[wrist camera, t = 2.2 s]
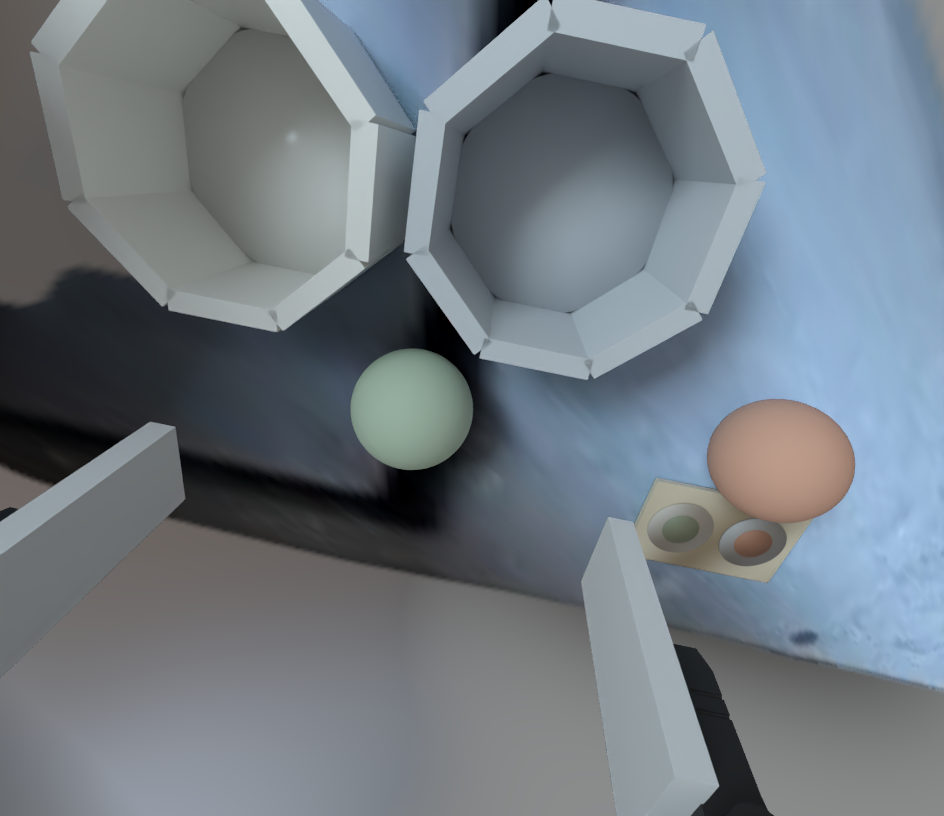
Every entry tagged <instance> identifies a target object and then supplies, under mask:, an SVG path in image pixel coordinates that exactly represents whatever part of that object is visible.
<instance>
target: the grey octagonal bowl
mask: <svg viewBox="0 0 944 816" xmlns="http://www.w3.org/2000/svg"><path fill="white" fill-rule="evenodd" d="M705 27H706V24H703V23H698V22H694V21H689V20H684V19H680V18H675V17H670V16H666V15H661V14H657V13H652V12H647V11H643V10H638V9H633V8H629V7H624V6H619V5H615V4H610V3H605V2H601V1H596V0H553V2H552V6H551V5H550V3H549V1H548V0H539V1H537V2H536V3H535V4H534V5H533V6H532V7H531V8H529V9H528V10H527V11H526V12H525V13H524V14H523V15H521V16H520V17H519V18H518V19H517V20H516V21H515V22H513V23H512V24H511V25H510V26H509V27H508V28H507V29H505V30H504V31H503V32H502V33H501V34H500V35H498V36H497V37H496V38H495V39H494V40H493V41H492V42H490V43H489V44H488V45H487V46H486V47H485V48H484V49H482V50H481V51H480V52H479V53H478V54H477V55H476V56H474V57H473V58H472V59H471V60H470V61H469V62H468V63H466V64H465V65H464V66H463V67H462V68H461V69H460V70H458V71H457V72H456V73H455V74H454V75H453V76H452V77H450V78H449V79H448V80H447V81H446V82H445V83H444V84H442V85H441V86H440V87H439V88H438V89H437V90H435V91H434V92H433V93H432V94H431V95H430V96H429V97H427V98H426V99H425V100H424V103H425V105H426V106H427V108H428V110H429V111H430V112H429V111H424V110H419V116H418V125H417V134H416V143H415V153H414V162H413V171H412V180H411V190H410V199H409V208H408V217H407V227H406V236H405V245H404V252H407V253H412V254H411V255H410V256H409V257H408V258H407V259H406V260H407V262H408V263H409V264H410V266H411V267H412V269H413V270H414V271H415V273H416V274H417V276H418V277H419V278H420V280H421V281H422V283H423V284H424V285H425V287H426V288H427V290H428V291H429V292H430V294H431V295H432V297H433V298H434V299H435V301H436V302H437V304H438V305H439V306H440V308H441V309H442V311H443V312H444V313H445V315H446V316H447V318H448V319H449V321H450V322H451V323H452V325H453V326H454V328H455V329H456V330H457V332H458V333H459V335H460V336H461V337H462V339H463V340H464V342H465V343H466V344H467V346H468V347H469V349H470V350H471V351H472V353H473V354H476V353H478V352H479V351H481V352H480V358H481V359H485V360H490V361H495V362H500V363H505V364H510V365H515V366H520V367H525V368H530V369H535V370H540V371H545V372H550V373H555V374H560V375H565V376H570V377H574V378H579V379H584V380H588V377H589V374H590V373H591V375H592V376H593V378H594V379H595V378H597V377H599V376H601V375H603V374H604V373H606V372H608V371H610V370H612V369H614V368H615V367H617V366H619V365H621V364H623V363H625V362H626V361H628V360H630V359H632V358H634V357H636V356H637V355H639V354H641V353H643V352H645V351H647V350H649V349H650V348H652V347H654V346H656V345H658V344H660V343H661V342H663V341H665V340H667V339H669V338H671V337H672V336H674V335H676V334H678V333H680V332H682V331H683V330H685V329H687V328H689V327H691V326H693V325H695V324H696V323H698V322H700V321H702V318H701V316H700V314H699V313H704V314H708V313H709V311H710V309H711V307H712V304H713V302H714V300H715V297H716V295H717V293H718V291H719V288H720V286H721V284H722V281H723V279H724V277H725V275H726V272H727V270H728V268H729V266H730V263H731V261H732V259H733V256H734V254H735V252H736V250H737V247H738V245H739V243H740V240H741V238H742V236H743V234H744V231H745V229H746V227H747V225H748V222H749V220H750V218H751V215H752V213H753V211H754V209H755V206H756V204H757V202H758V200H759V197H760V195H761V193H762V190H763V188H764V186H765V184H766V182H762V181H757V179H758V178H760V177H762V176H763V175H765V174H766V170H765V168H764V165H763V162H762V160H761V157H760V154H759V152H758V149H757V146H756V144H755V141H754V138H753V136H752V133H751V130H750V128H749V125H748V122H747V120H746V117H745V114H744V112H743V109H742V106H741V104H740V101H739V98H738V95H737V93H736V90H735V87H734V85H733V82H732V79H731V77H730V74H729V71H728V69H727V66H726V63H725V61H724V58H723V55H722V53H721V50H720V47H719V45H718V42H717V39H716V37H715V34H714V31H712V32H710V33H709V34H707V35H706V36H704V37H703V38H702V36H703V33H704V30H705ZM540 75H543V76H540ZM539 76H540V77H539ZM466 135H468V136H467V137H466V139H465V136H466ZM451 227H452V228H451Z"/></svg>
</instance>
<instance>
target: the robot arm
mask: <svg viewBox="0 0 944 816" xmlns="http://www.w3.org/2000/svg"><path fill="white" fill-rule="evenodd" d="M184 500H185V493H184V486H183V478H182V471H181V464H180V456H179V449H178V442H177V434H176V427H174V426H169V425H164V424H159V423H154V422H149V423H147V424H146V425H144V426H143V427H141V428H140V429H138V430H137V431H135V432H134V433H132V434H131V435H129V436H128V437H126V438H125V439H123V440H122V441H120V442H119V443H117V444H116V445H114V446H113V447H111V448H110V449H108V450H107V451H105V452H104V453H102V454H101V455H99V456H98V457H96V458H95V459H93V460H92V461H91V462H89V463H88V464H86V465H85V466H83V467H82V468H80V469H79V470H77V471H76V472H74V473H73V474H71V475H70V476H68V477H67V478H65V479H64V480H62V481H61V482H59V483H58V484H56V485H55V486H53V487H52V488H50V489H49V490H47V491H46V492H44V493H43V494H41V495H40V496H38V497H37V498H35V499H34V500H32V501H31V502H29V503H28V504H26V505H25V506H23V507H22V508H20V509H16V508H11V507H10V508H7V509H5V510H2V511H0V678H1V677H2V676H3V675H4V674H5V673H6V672H7V671H8V670H9V669H11V668H12V667H13V666H14V664H16V663H17V662H18V661H19V660H20V659H21V658H22V657H23V656H24V655H25V654H26V653H27V652H28V651H29V650H30V649H31V648H32V647H33V646H34V645H35V644H36V643H37V642H38V641H39V640H40V639H41V638H42V637H43V636H44V635H46V634H47V633H48V632H49V631H50V630H51V629H52V628H53V627H54V626H55V625H56V624H57V623H58V622H59V621H60V620H61V619H62V618H63V617H64V616H65V615H66V614H67V613H68V612H69V611H70V610H71V609H72V608H73V607H74V606H76V604H78V603H79V602H80V600H82V599H83V598H84V597H85V596H86V595H87V594H88V593H89V592H90V591H91V590H92V589H93V588H94V587H95V586H96V585H97V584H98V583H99V582H100V581H101V580H102V579H103V578H104V577H105V576H106V575H107V574H109V573H110V572H111V571H112V570H113V569H114V568H115V567H116V566H117V565H118V564H119V563H120V562H121V561H122V560H123V559H124V558H125V557H126V556H127V555H128V554H129V553H130V552H131V551H132V550H133V549H134V548H135V547H136V546H137V545H138V544H139V543H140V542H142V541H143V540H144V539H145V538H146V537H147V536H148V535H149V534H150V533H151V532H152V531H153V530H154V529H155V528H156V527H157V526H158V525H159V524H160V523H161V522H162V521H163V520H164V519H165V518H166V517H167V516H168V515H169V514H170V513H172V512H173V511H174V510H175V509H176V508H177V507H178V506H179V505H180V504H181V503H182V502H183V501H184ZM581 584H582V591H583V597H584V604H585V611H586V617H587V624H588V630H589V637H590V644H591V651H592V657H593V664H594V671H595V677H596V684H597V691H598V697H599V704H600V711H601V717H602V724H603V731H604V737H605V744H606V751H607V757H608V764H609V771H610V777H611V784H612V791H613V797H614V804H615V811H616V816H774V815H772V814H771V813H770V812H769V811H768V810H767V808H766V805H765V803H764V802H763V799H762V797H761V795H760V792H759V790H758V787H757V784H756V782H755V779H754V777H753V774H752V772H751V769H750V766H749V764H748V761H747V759H746V756H745V753H744V751H743V748H742V746H741V743H740V741H739V738H738V736H737V733H736V730H735V728H734V725H733V722H732V720H730V719H729V712H728V710H727V707H726V704H725V702H724V700H722V698H721V697H722V694H721V692H720V689H719V686H718V684H717V681H716V679H715V676H714V674H713V671H712V670H711V668H710V667H709V666H708V664H707V663H706V661H705V660H704V659H703V657H702V656H701V655H700V653H699V652H698V651H697V649H695V648H691V647H686V646H681V645H676V644H673V643H672V640H671V637H670V633H669V630H668V627H667V624H666V621H665V618H664V615H663V612H662V609H661V606H660V603H659V599H658V596H657V593H656V590H655V587H654V584H653V581H652V578H651V575H650V572H649V569H648V566H647V563H646V560H645V557H644V553H643V550H642V547H641V544H640V541H639V538H638V535H637V532H636V529H635V526H634V523H633V522H630V521H625V520H621V519H616V518H611V517H608V518H607V521H606V523H605V525H604V528H603V530H602V533H601V535H600V537H599V540H598V542H597V545H596V547H595V549H594V552H593V554H592V557H591V559H590V561H589V564H588V566H587V568H586V571H585V573H584V576H583V578H582V580H581Z"/></svg>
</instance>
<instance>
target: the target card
mask: <svg viewBox="0 0 944 816" xmlns="http://www.w3.org/2000/svg"><path fill="white" fill-rule="evenodd" d="M811 521H812V519H810V520H806V521H802V522H795V523H776V522H770V521H765V520H761V519H758V518H755V517H753V516H750V515H748V514H746V513H744V512H742V511H741V510H739V509H737V508H736V507H734V506H733V505H732V504H731V503H729V502H728V501H727V500H726V499H725V498H724V497H723V496H722V494H721V493H720V492H719V491H718V490H717V489H712V488H707V487H701V486H696V485H691V484H686V483H681V482H676V481H671V480H666V479H661V478H656V479H655V481H654V483H653V485H652V487H651V489H650V491H649V494H648V496H647V498H646V500H645V502H644V504H643V507H642V509H641V511H640V513H639V515H638V517H637V519H636V522H635V524H634V526H635V529H636V532H637V535H638V538H639V541H640V544H641V547H642V550H643V553H644V557H645V559H648V560H653V561H658V562H664V563H669V564H674V565H679V566H684V567H689V568H694V569H699V570H704V571H709V572H714V573H719V574H725V575H730V576H735V577H740V578H745V579H750V580H755V581H760V582H765V583H768V582H769V580H770V579H771V578H772V576H773V575H774V573H775V572H776V571H777V569H778V568H779V566H780V565H781V563H782V562H783V561H784V559H785V558H786V556H787V555H788V553H789V552H790V551H791V549H792V548H793V546H794V545H795V544H796V542H797V541H798V539H799V538H800V536H801V535H802V534H803V532H804V531H805V529H806V528H807V527H808V525H809V524H810V522H811Z"/></svg>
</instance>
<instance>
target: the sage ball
mask: <svg viewBox="0 0 944 816" xmlns="http://www.w3.org/2000/svg"><path fill="white" fill-rule="evenodd" d="M472 417H473V401H472V396H471V392H470V389H469V386H468V384H467V382H466V380H465V378H464V377H463V375H462V374H461V372H460V371H459V370H458V369H457V368H456V367H455V366H454V365H453V364H452V363H451V362H450V361H448V360H447V359H446V358H444V357H442V356H440V355H439V354H436V353H434V352H431V351H427V350H423V349H401V350H396V351H393V352H390V353H388V354H385V355H383V356H382V357H380V358H378V359H377V360H375V361H374V362H373V363H371V364H370V365H369V366H368V368H367V369H366V370H365V371H364V372H363V373H362V375H361V376H360V378H359V379H358V381H357V383H356V385H355V388H354V391H353V394H352V399H351V420H352V424H353V428H354V431H355V433H356V435H357V437H358V439H359V441H360V442H361V444H362V445H363V446H364V448H365V449H366V450H367V451H368V452H369V453H370V454H371V455H372V456H373V457H375V458H376V459H377V460H379V461H381V462H382V463H384V464H386V465H389V466H391V467H394V468H398V469H404V470H418V469H425V468H429V467H432V466H435V465H437V464H439V463H441V462H443V461H444V460H446V459H448V458H449V457H450V456H451V455H452V454H454V453H455V452H456V451H457V450H458V448H459V447H460V446H461V445H462V443H463V442H464V440H465V438H466V436H467V434H468V432H469V429H470V426H471V422H472Z"/></svg>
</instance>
